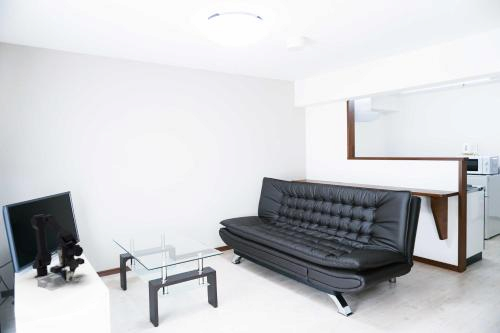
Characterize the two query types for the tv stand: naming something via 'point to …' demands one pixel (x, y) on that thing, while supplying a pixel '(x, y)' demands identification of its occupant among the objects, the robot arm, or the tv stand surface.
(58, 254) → the coffee cup
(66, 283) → the grey backboard with ledge
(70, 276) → the cream cube with dome
